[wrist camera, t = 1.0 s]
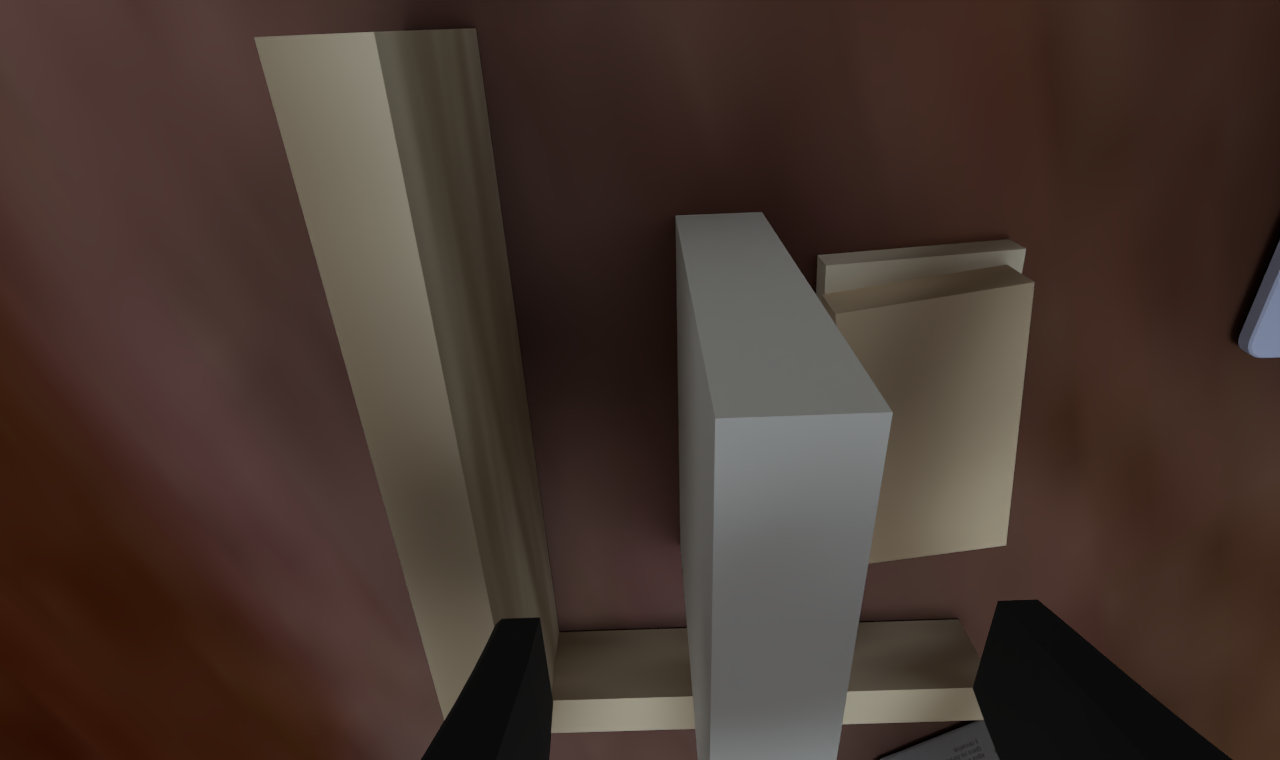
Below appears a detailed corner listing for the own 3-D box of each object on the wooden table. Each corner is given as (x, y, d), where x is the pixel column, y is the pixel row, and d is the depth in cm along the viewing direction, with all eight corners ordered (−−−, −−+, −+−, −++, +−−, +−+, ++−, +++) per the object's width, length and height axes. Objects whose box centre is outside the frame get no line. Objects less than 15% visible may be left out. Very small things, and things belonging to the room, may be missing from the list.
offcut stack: (1011, 233, 16) (1069, 264, 14) (964, 499, 20) (1003, 555, 18) (810, 250, 16) (837, 283, 14) (801, 510, 20) (821, 568, 18)
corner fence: (1120, -2, 13) (1436, -17, 8) (950, 651, 22) (1048, 846, 17) (402, 31, 14) (253, 37, 8) (519, 664, 23) (483, 861, 17)
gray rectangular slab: (761, 211, 15) (892, 411, 8) (746, 542, 20) (817, 879, 12) (674, 215, 15) (715, 418, 8) (680, 544, 20) (707, 881, 12)
